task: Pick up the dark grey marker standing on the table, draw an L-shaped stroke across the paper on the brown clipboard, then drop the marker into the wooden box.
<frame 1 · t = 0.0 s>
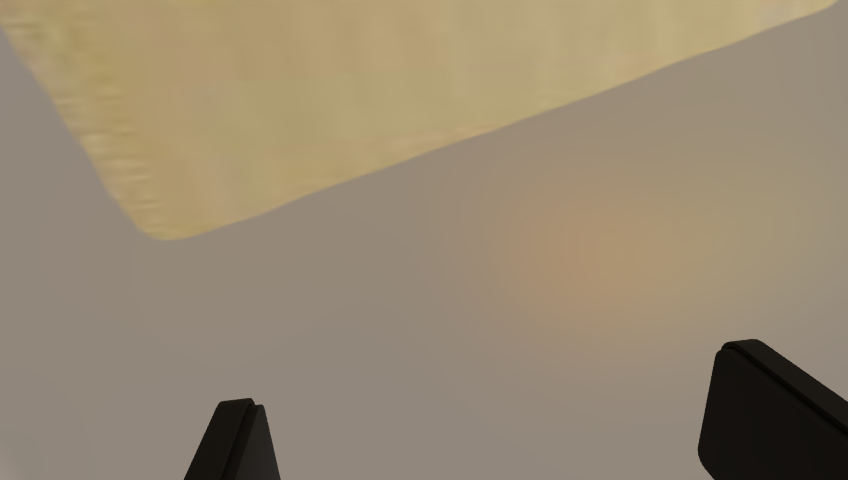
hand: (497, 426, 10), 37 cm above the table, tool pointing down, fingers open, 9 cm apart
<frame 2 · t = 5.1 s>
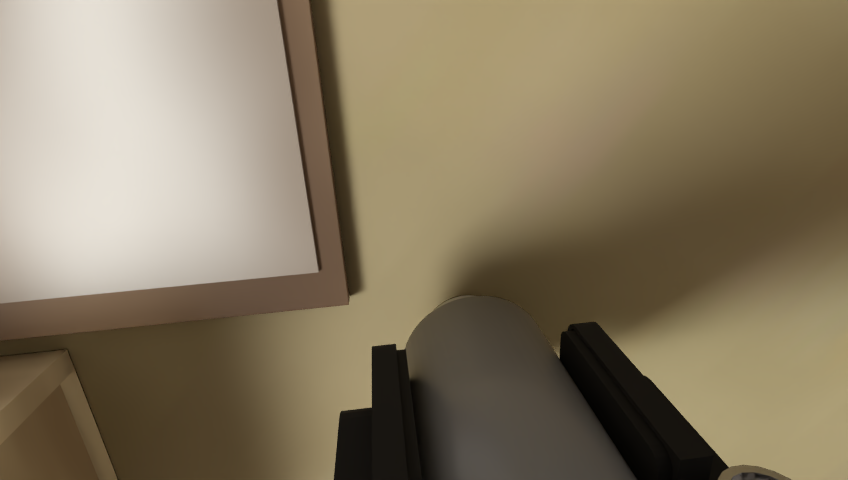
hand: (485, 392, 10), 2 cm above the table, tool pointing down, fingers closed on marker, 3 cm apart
marker: (465, 334, 13), on the table, touching gripper
when the fingers open (7 cm above the table, at t = 13.9 s): marker drops 4 cm, resting on wooden box.
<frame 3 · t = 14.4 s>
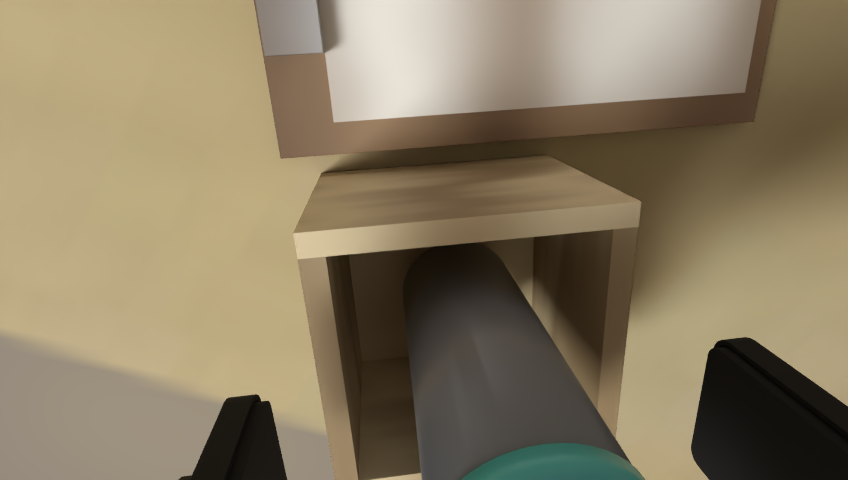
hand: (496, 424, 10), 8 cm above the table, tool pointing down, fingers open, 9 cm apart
wooden box: (441, 267, 17), on the table
marker: (451, 275, 17), point 1 cm above the table, touching wooden box
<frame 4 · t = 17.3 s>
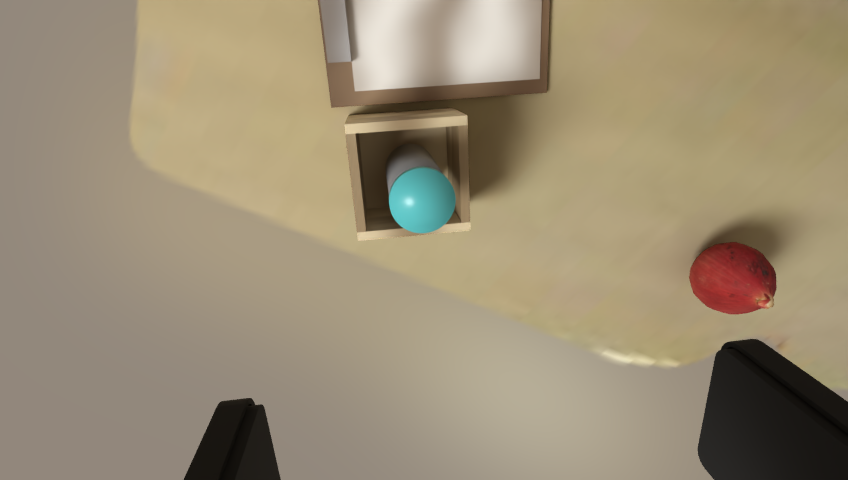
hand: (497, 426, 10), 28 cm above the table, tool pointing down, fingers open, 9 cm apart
clipboard: (436, 10, 32), on the table
wooden box: (404, 162, 36), on the table
onion: (699, 259, 42), on the table
marker: (408, 164, 35), point 1 cm above the table, touching wooden box
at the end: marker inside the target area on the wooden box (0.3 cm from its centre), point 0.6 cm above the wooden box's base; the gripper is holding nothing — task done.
